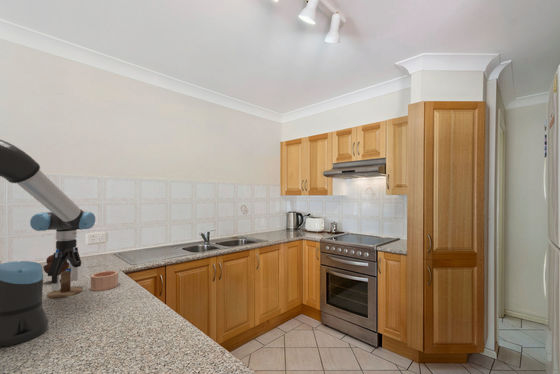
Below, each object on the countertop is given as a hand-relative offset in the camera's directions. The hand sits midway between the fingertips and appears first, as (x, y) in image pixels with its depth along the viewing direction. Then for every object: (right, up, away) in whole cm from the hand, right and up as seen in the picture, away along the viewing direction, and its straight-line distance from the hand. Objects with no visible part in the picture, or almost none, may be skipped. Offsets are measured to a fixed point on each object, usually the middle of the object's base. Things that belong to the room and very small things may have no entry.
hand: (65, 285), depth 122 cm
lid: (0, -4, 0) cm, 4 cm away
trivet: (0, -4, 0) cm, 4 cm away
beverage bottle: (-30, -6, +35) cm, 47 cm away
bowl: (+13, -4, +8) cm, 16 cm away
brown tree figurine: (-19, -5, +17) cm, 26 cm away
